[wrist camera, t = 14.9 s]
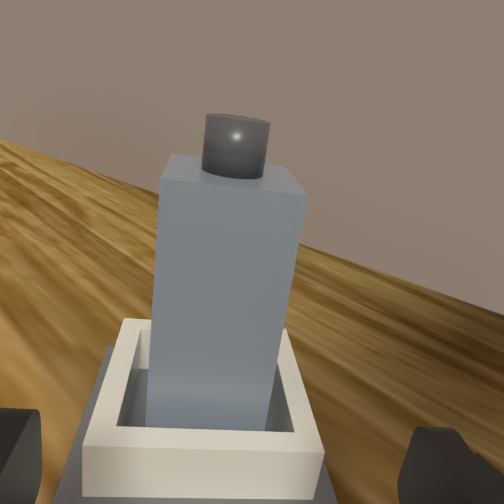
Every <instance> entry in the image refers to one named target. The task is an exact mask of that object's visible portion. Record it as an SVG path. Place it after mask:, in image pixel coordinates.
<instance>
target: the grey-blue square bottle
mask: <svg viewBox="0 0 504 504" xmlns="http://www.w3.org/2000/svg"><path fill="white" fill-rule="evenodd" d="M269 130H270V122H267V121H263V120H259V119H254V118H248V117H242V116H235V115H226V114H206V124H205V134H204V145H203V156H202V157H200V156H191V155H183V154H175V153H172V155H171V157H170V159H169V161H168V163H167V165H166V167H165V169H164V172H163V174H162V176H161V178H160V190H159V191H160V192H159V206H158V223H157V239H156V255H155V271H154V287H153V304H152V320H151V336H150V352H149V369H148V385H147V401H146V417H145V427H153V428H181V429H210V430H239V431H264V430H265V425H266V419H267V414H268V408H269V403H270V398H271V392H272V387H273V381H274V376H275V370H276V365H277V359H278V354H279V349H280V343H281V338H282V332H283V327H284V321H285V316H286V310H287V305H288V300H289V294H290V289H291V283H292V278H293V272H294V267H295V261H296V256H297V250H298V245H299V239H300V234H301V228H302V223H303V218H304V212H305V207H306V201H307V194H306V192H305V191H304V190H303V188H302V187H301V186H300V185H299V183H298V182H297V181H296V180H295V178H294V177H293V176H292V175H291V173H290V172H289V171H288V170H287V168H286V167H283V166H274V165H266V164H265V158H266V150H267V144H268V137H269Z"/></svg>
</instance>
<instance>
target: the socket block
mask: <svg viewBox="0 0 504 504" xmlns="http://www.w3.org/2000/svg"><path fill="white" fill-rule="evenodd" d="M150 336H151V320H146V319H131V318H124V320H123V323H122V326H121V329H120V332H119V335H118V339H117V342H116V345H115V346H108V347H107V350H106V353H105V356H104V359H103V361H102V364H101V367H100V370H99V373H98V375H97V378H96V381H95V384H94V387H93V389H92V392H91V395H90V398H89V401H88V404H87V406H86V409H85V412H84V415H83V418H82V420H81V423H80V426H79V429H78V432H77V434H76V437H75V440H74V443H73V446H72V448H71V451H70V454H69V457H68V460H67V463H66V465H65V468H64V471H63V474H62V477H61V479H60V482H59V485H58V488H57V491H56V493H55V496H54V499H53V502H52V504H338V503H337V500H336V496H335V493H334V490H333V486H332V483H331V480H330V477H329V473H328V470H327V467H326V464H325V460H324V454H325V452H324V448H323V445H322V442H321V439H320V436H319V433H318V429H317V426H316V423H315V420H314V417H313V413H312V410H311V407H310V404H309V401H308V397H307V394H306V391H305V388H304V385H303V382H302V378H301V375H300V372H299V369H298V366H297V362H296V359H295V356H294V353H293V350H292V346H291V343H290V340H289V337H288V334H287V330H286V329H283V332H282V338H281V343H280V349H279V354H278V359H277V365H276V370H275V376H274V381H273V387H272V392H271V398H270V403H269V408H268V414H267V419H266V425H265V430H264V431H239V430H210V429H181V428H153V427H145V417H146V401H147V385H148V369H149V352H150Z"/></svg>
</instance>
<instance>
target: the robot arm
mask: <svg viewBox="0 0 504 504" xmlns="http://www.w3.org/2000/svg"><path fill="white" fill-rule="evenodd" d="M41 477H42V445H41V421H40V413H39V411H38V410H37V409H14V408H0V504H35V501H36V498H37V495H38V491H39V487H40V483H41ZM398 497H399V502H400V504H504V476H503V475H502V474H501V473H500V472H499V471H498V470H497V469H496V468H494V467H493V466H492V465H491V464H490V463H489V462H487V461H486V460H485V459H484V458H483V457H482V456H480V455H479V454H473V453H472V451H471V450H470V449H469V447H468V446H467V444H466V443H465V441H464V440H463V439H462V437H461V436H460V434H459V433H458V432H457V431H456V430H455V429H453V428H443V427H417V428H416V429H415V431H414V433H413V435H412V438H411V441H410V444H409V447H408V450H407V453H406V456H405V459H404V462H403V465H402V468H401V471H400V474H399V477H398Z"/></svg>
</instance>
